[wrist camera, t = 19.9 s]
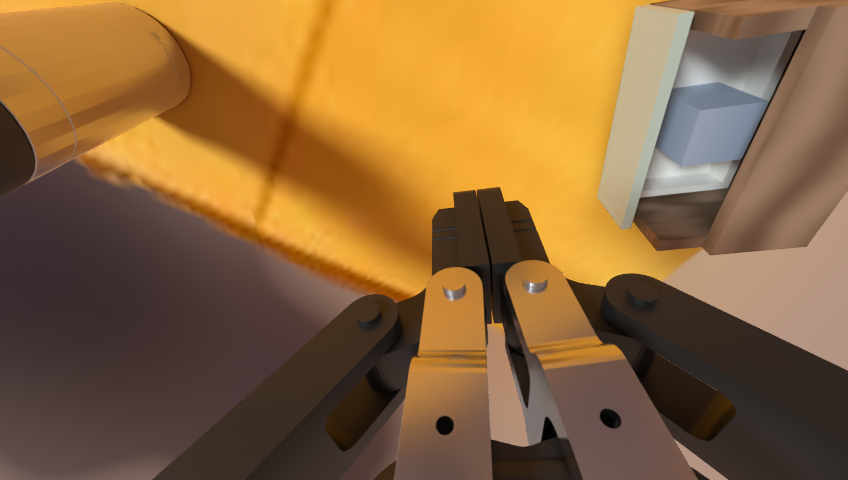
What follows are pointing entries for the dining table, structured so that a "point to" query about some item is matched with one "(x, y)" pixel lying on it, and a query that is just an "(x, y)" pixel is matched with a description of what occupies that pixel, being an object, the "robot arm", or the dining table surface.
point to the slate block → (708, 123)
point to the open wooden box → (770, 138)
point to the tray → (649, 93)
